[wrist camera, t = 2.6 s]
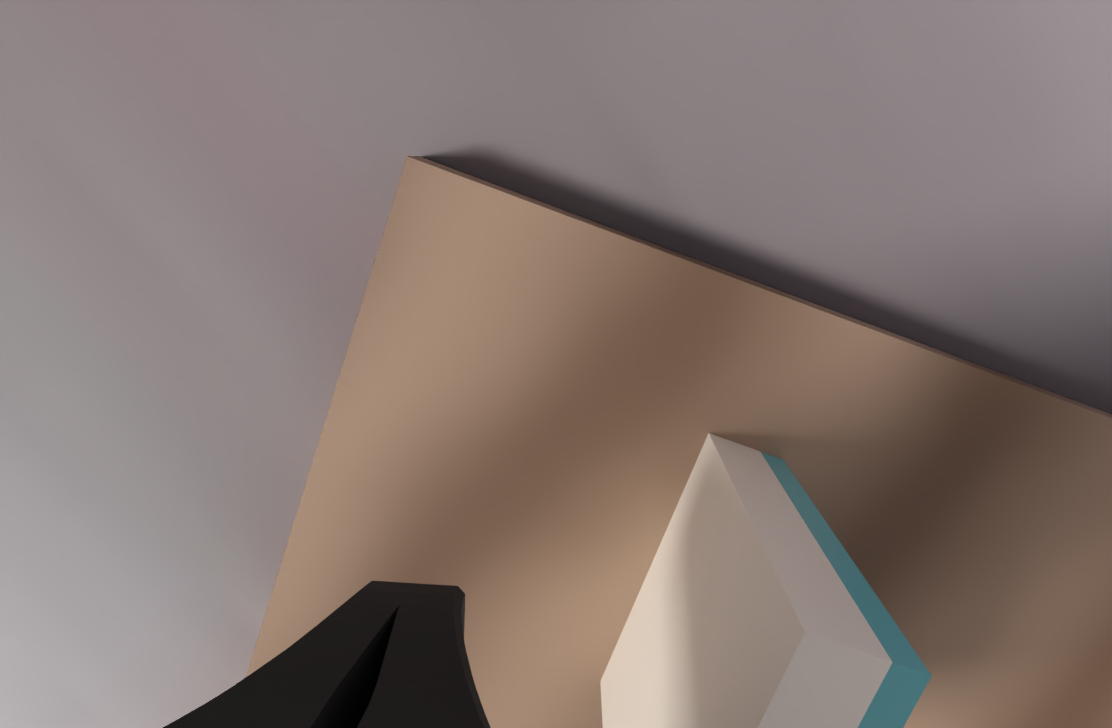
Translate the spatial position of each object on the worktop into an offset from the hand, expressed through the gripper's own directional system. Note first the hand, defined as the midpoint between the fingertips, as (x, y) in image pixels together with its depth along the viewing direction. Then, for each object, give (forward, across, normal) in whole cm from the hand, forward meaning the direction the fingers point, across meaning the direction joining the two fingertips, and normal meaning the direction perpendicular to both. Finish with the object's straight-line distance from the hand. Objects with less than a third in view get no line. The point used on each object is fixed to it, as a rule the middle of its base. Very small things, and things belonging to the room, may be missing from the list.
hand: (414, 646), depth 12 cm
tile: (+5, -5, +2) cm, 7 cm away
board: (+6, -7, +4) cm, 10 cm away
